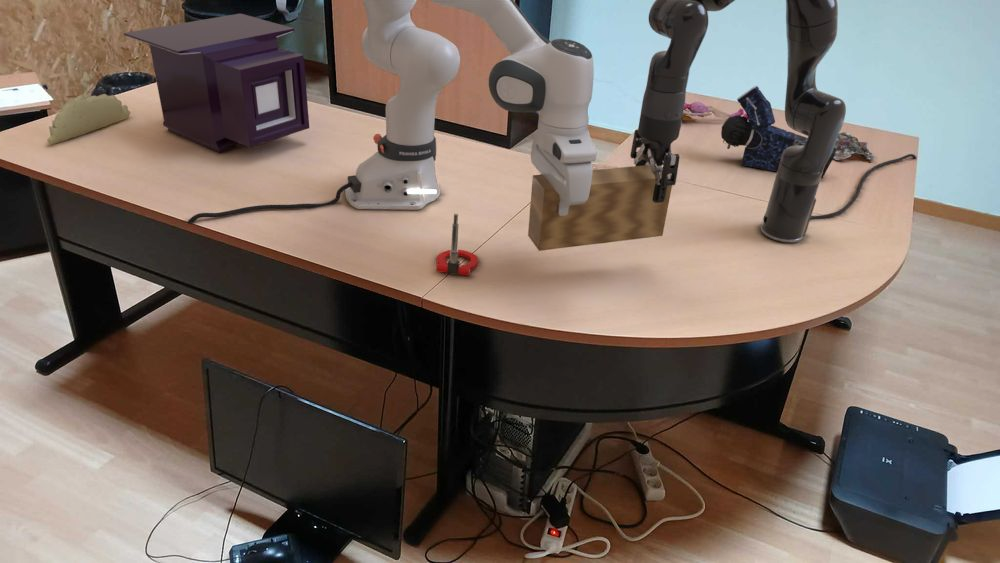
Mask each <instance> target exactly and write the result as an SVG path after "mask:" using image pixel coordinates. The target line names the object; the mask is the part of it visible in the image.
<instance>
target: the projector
mask: <svg viewBox="0 0 1000 563" xmlns="http://www.w3.org/2000/svg"><path fill="white" fill-rule="evenodd" d="M294 31H295V28H294V27H292V26H287V25H283V24H279V23H276V22H272V21H269V20H264V19H262V18H259V17H256V16H255V17H254V16H252V15H247V14H244V13H235V14H230V15H224V16H217V17H212V18H205V19H200V20H194V21H188V22H181V23H175V24H169V25H163V26H157V27H151V28H146V29H145V28H144V29H139V30H134V31H128V32H123V36H125V37H127V38H130V39H133V40H136V41H138V42H142V43H145V44H148V45H149V50H150V54H151V60H152V66H153V71H154V75H155V76H154V77H155V82H156V87H157V92H158V97H159V102H160V107H161V113H162V118H163V122H162V126H163V127H165V128H166V129H167V131H168V132H170V133H172V134H175V135H177V136H179V137H182V138H184V139H187V140H189V141H191V142H193V143H196V144H197V145H200V146H203V147H205V148H207V149H209V150H212V151H215V152H217V153H219V154H220V153H224V152H227V151H229V150H233V149H235V148H237V144H240V145H242V146H245V147H247V148H249V149H250V148H253V147H256V146H259V145H262V144H266V143H269V142H271V141H275V140H278V139H281V138H285V137H287V136H289V135H293V134H296V133H300V132H302V131H305V130H308V129H310V118H309V105H308V94H307V93H308V92H307V80H306V79H307V78H306V68H305V56H304V54H303V53H302V54H301V53H297V52H296V51H295V52H294V51H291V50H288V49H285V48H282V47H279V44H278V40H277V38H280V37H282V36H286V35H287V34H291V33H292V32H294Z"/></svg>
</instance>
